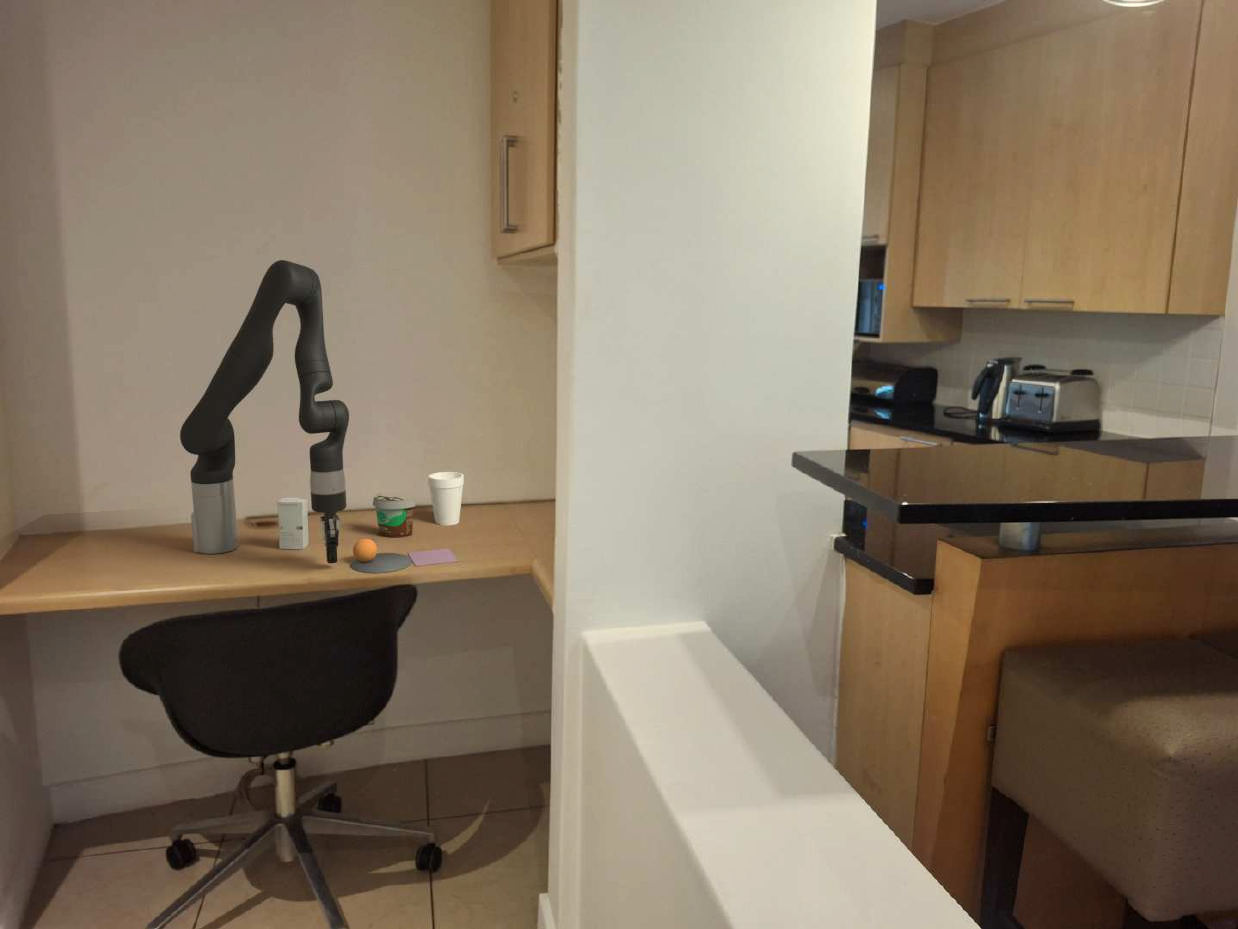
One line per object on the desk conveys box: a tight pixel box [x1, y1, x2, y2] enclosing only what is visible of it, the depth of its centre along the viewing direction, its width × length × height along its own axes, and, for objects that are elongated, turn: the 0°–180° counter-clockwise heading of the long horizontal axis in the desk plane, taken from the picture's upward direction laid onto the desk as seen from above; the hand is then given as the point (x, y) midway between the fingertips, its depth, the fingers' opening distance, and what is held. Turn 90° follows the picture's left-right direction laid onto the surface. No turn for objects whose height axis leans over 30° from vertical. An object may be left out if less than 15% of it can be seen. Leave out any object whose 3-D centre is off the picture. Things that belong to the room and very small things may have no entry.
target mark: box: [349, 552, 413, 574], centre depth 208 cm, size 14×14×1 cm
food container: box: [372, 492, 416, 539], centre depth 228 cm, size 12×6×10 cm, turn 62°
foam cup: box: [427, 471, 465, 526], centre depth 240 cm, size 10×9×13 cm
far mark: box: [407, 548, 459, 567], centre depth 212 cm, size 10×10×1 cm
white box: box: [277, 496, 309, 550], centre depth 217 cm, size 6×4×12 cm
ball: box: [352, 538, 378, 562], centre depth 208 cm, size 6×6×6 cm
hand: (332, 562), depth 203 cm, fingers closed
